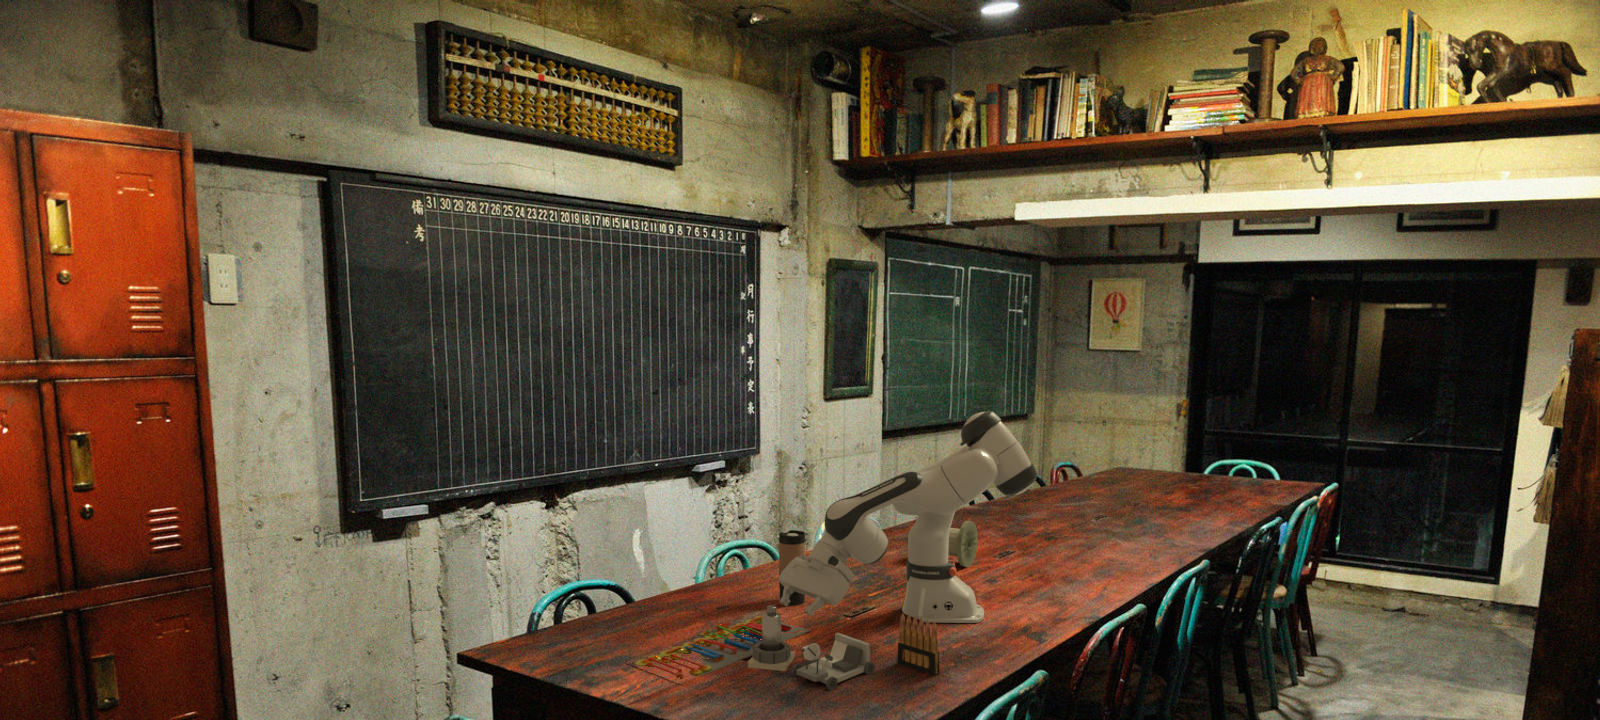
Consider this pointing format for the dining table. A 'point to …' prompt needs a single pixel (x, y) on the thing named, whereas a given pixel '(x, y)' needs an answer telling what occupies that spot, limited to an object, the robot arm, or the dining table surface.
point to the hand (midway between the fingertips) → (795, 609)
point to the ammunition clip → (918, 646)
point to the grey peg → (771, 629)
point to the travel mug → (791, 558)
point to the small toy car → (836, 661)
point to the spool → (963, 543)
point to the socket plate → (771, 657)
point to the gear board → (720, 655)
